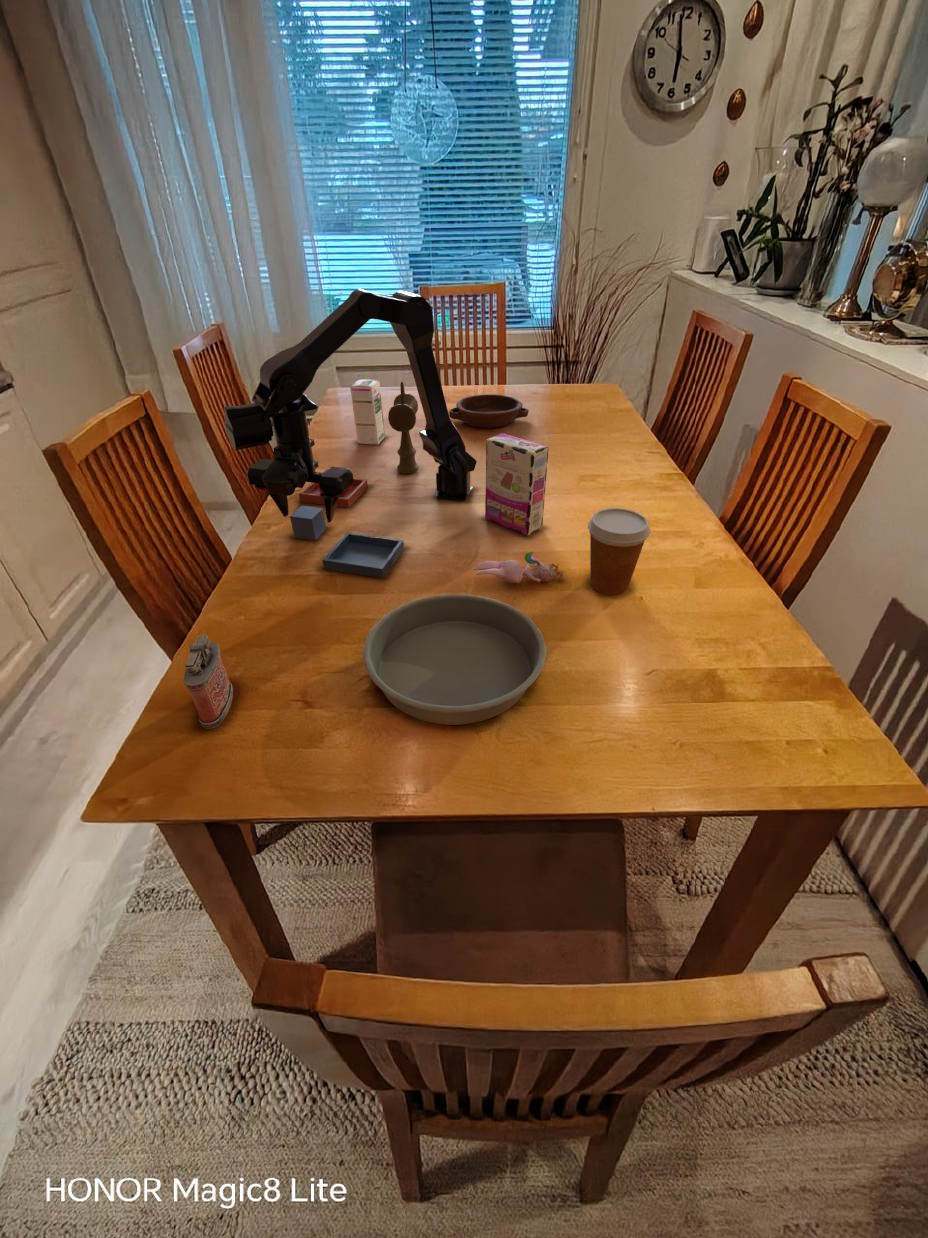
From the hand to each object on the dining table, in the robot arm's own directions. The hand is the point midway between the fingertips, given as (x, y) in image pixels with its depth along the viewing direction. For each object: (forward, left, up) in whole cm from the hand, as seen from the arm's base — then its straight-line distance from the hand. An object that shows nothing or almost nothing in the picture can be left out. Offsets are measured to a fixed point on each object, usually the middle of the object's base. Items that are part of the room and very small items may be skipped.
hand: (308, 518), depth 112 cm
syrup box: (+8, -49, -3) cm, 50 cm away
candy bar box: (-37, -14, -3) cm, 40 cm away
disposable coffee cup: (-57, +3, -3) cm, 57 cm away
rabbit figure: (-42, +6, -3) cm, 43 cm away
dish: (-18, -71, -3) cm, 73 cm away
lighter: (-10, +45, -3) cm, 46 cm away
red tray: (+3, -17, -3) cm, 17 cm away
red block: (+3, -17, -3) cm, 17 cm away
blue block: (0, 0, -3) cm, 3 cm away
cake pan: (-38, +30, -3) cm, 49 cm away
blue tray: (-14, +6, -3) cm, 16 cm away
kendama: (-8, -33, -3) cm, 34 cm away
